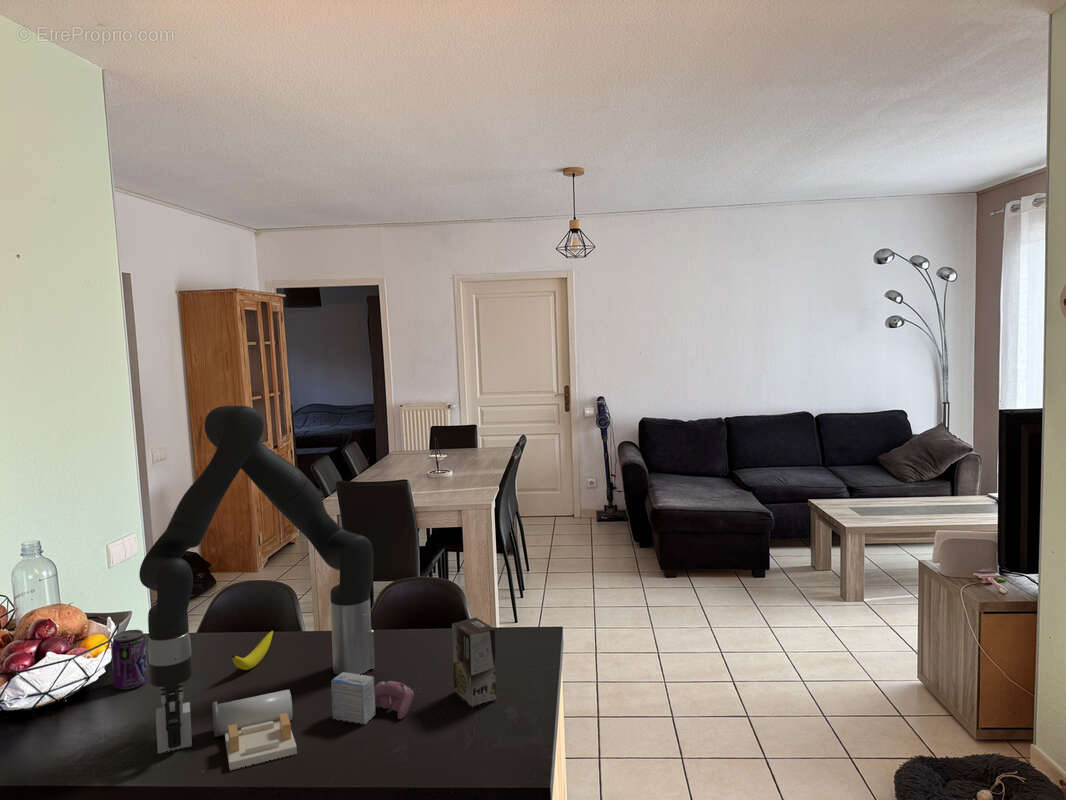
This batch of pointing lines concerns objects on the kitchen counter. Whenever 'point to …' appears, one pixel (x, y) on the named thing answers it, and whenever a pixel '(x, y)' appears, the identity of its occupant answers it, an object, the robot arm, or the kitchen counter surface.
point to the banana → (254, 654)
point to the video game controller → (397, 690)
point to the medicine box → (353, 698)
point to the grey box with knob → (184, 731)
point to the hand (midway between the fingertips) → (174, 738)
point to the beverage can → (129, 659)
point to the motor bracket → (256, 728)
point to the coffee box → (474, 661)
